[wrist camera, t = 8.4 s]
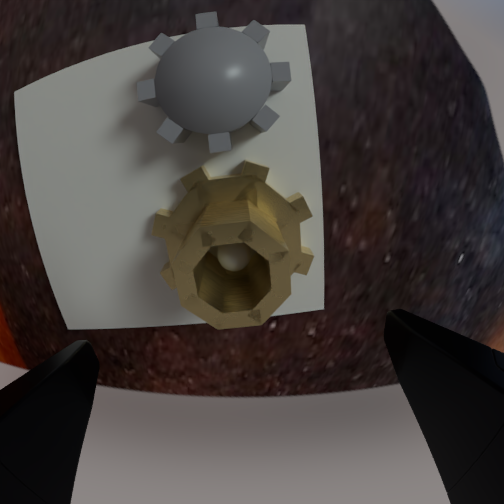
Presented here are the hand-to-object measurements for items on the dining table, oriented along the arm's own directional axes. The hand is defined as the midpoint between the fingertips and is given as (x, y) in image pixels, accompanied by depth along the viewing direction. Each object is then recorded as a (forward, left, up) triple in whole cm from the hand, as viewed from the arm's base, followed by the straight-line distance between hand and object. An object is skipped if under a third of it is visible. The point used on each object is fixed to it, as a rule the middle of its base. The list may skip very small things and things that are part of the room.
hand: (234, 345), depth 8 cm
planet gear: (0, 0, -9) cm, 9 cm away
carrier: (-4, +3, -11) cm, 12 cm away
